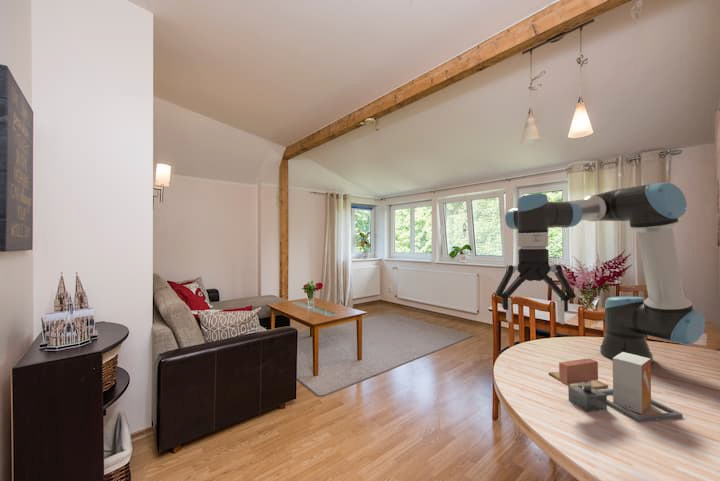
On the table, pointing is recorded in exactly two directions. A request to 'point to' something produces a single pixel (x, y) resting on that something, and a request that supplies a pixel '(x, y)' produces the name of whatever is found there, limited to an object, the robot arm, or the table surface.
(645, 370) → the small box
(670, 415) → the seat rim
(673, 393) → the table surface
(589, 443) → the table surface
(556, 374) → the cork pad
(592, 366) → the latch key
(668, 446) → the table surface
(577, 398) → the key housing
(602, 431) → the table surface
